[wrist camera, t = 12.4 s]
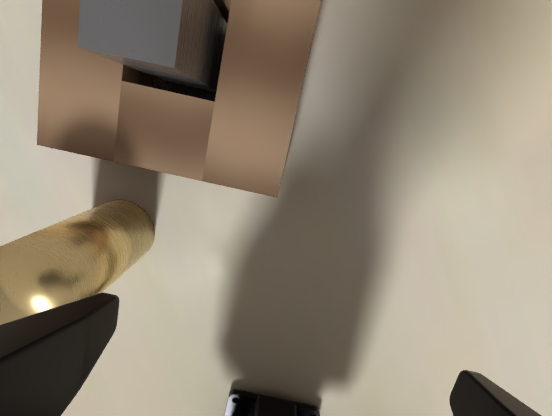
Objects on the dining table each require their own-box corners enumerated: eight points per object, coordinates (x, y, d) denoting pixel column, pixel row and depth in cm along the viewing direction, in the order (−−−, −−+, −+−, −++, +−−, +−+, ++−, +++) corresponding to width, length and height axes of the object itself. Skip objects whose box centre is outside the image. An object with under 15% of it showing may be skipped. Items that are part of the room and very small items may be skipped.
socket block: (279, 185, 20) (277, 197, 16) (81, 141, 19) (37, 144, 16) (329, -42, 17) (340, -85, 13) (97, -96, 17) (48, -154, 13)
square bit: (222, 92, 18) (174, 67, 11) (166, 81, 18) (77, 47, 11) (231, 31, 18) (187, -43, 10) (173, 19, 18) (83, -66, 10)
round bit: (150, 266, 21) (70, 346, 13) (89, 253, 21) (-27, 326, 13) (157, 207, 20) (76, 257, 12) (94, 193, 20) (-28, 235, 12)
